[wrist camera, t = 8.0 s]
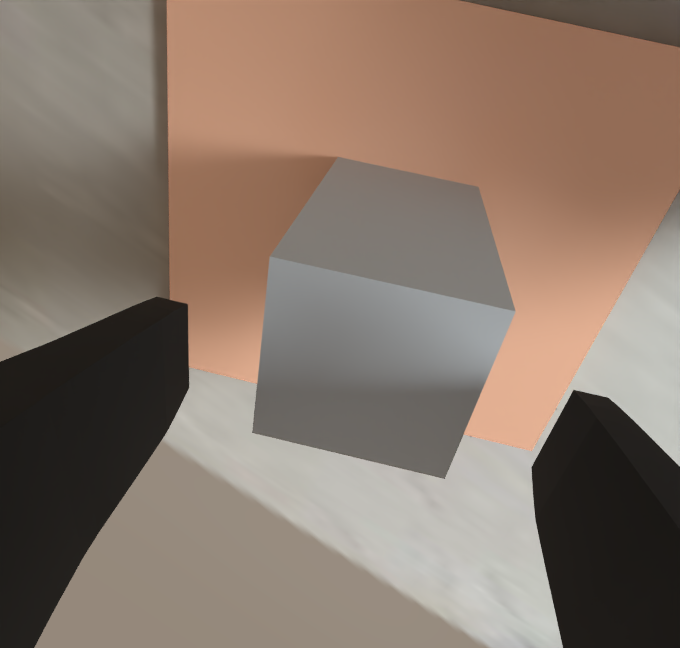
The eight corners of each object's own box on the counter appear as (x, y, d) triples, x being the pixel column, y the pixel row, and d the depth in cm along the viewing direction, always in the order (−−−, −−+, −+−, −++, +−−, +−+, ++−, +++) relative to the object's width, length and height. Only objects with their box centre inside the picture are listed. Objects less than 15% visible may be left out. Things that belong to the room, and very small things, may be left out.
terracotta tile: (732, 60, 12) (751, 62, 11) (528, 435, 19) (531, 450, 18) (180, -58, 12) (166, -63, 12) (179, 350, 19) (170, 362, 19)
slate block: (478, 186, 14) (515, 311, 8) (438, 308, 16) (444, 478, 10) (338, 157, 14) (269, 256, 8) (318, 281, 16) (252, 432, 10)
